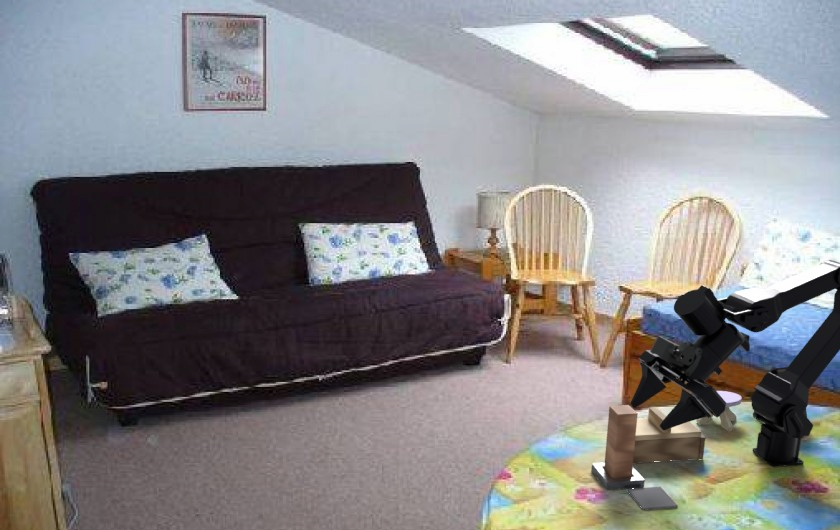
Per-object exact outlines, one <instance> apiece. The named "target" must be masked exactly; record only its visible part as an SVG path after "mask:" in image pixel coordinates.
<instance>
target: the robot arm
mask: <svg viewBox="0 0 840 530" xmlns="http://www.w3.org/2000/svg"><path fill="white" fill-rule="evenodd" d="M833 290H835V293H834V298H833V306H832V307H833V308H832V311H831V312H830V313H829V314H828V315H827V317H826V318H825V319H824V321H823V322H822V323H821V324H820V326H819V327H818V329H816V331H815V332H814V334H812V336H811V337H810V338H809V340H808V341H807V342H806V343H805V345H804V346H803V347H802V348H801V350H800V351H799V352H798V353H797V355H796V356H795V357H794V359H792V361H791V363H789V365H788V366H786V367H787V369H786V370H785V371H784V372H782V373H779V374H777V375H774V374H772V373H770V371H769V372H767V373H766V374H764V375H763V378H762V379H761V381H759V382H758V384H757V385H755V386H754V387H753V389H754V392H753V393H752V395H751V398H750V400H751V407H752V410H753V412H754V411H755V416H756V418H755V419H756V420H758V421H760V422H762V423H761V427H760V432H758V434H757V435H758V436H757V441H756V447H753V448H752V452H753V453H754V454H756V455H757V456H758V457H759V458H760V459H762V460H763V461H764V462H765V463H767V464H768V465H769V466H770V467H774V468H775V467H789V466H790V467H791V466H802V465H804V462H805V461H804V460H802V459H801V458H799V455H800V451H801V450H800V449H801V442H802V439H803V438H804V437H808V436H810V434H811V431H812V429H813V428H814V424H813V423H812V422H811V421H810V419H809V418H808V416H807V417H806V416H805V415H804V414H803V412H804V411H805V409H806V410H807V407H808V405H809V395H810V388H811V387H812V386H813V384H815V382H816V380H818V378H819V377H820V375H821V374H822V373H823V372H824V371H825V370H826V368H827V367H828V366H829V365H830V363H831V362H832V360H833V359H834V358H835V357H836V355H837V354H838V353H839V351H840V262H839V261H836V260H831V259H829V260H823V261H821V262H820V264H819V265H817V266H814V267H812V268H810V269H807V270H805V271H803V272H800V273H798V274H796V275H794V276H791V277H790V278H786V279H784V280H782V281H780V282H777V283H774V284H772V285H771V286H766V287H751V288H745V289H742V290H738V291H734V292H733V293H730V294H729V295H728V296H726V297H722V298H717V297H716V296H715V294H714V292H713V290H712V289H711V288H710V287H708V286H706V285H704V284H703V285H702V284H701V285H700V286H699V287H698V288H697V289H692V290H689V291H687V292H685V293H684V294H680V295H679V296H678V297H677V299H676V300H675V302H674V304H673V311H674V312H675V314H676V315H677V316H678V318H680V319H681V321H682V322H683V323H684V325H685V326H686V327H687V328H688V329H689V330H690V332H692V334H693V335H695V336H698V338H697V339H695V341H694V342H693V343H692V342H690V341H689V340H687V341H685V342H681V343H680V344H677V343H676V342H674V341H671V340H669V339H666V338H665V337H663V336H660V335H657V338H656V340H655V342H654V343H653V345H652V347H651V349H645V350H644V351H643V352H642V353H641V354H640V355H639V357H637V358H638V360H639V361H640V362H639V367H641V378H640V381H639V383H638V385H637V388H636V390H635V393H634V394H633V396H632V398H631V401H630V405H629V406H630V407H631V408H632V409H636V408H637V407H640V406H641V405H643V404H644V403H646V402H647V401H648V400H650V399H651V398H653V397H655V396H657V394H659V393H660V392H662V391H663V390H665V389H666V388H667V386H666V384H668V383H671V382H672V383H674V384H676V385H677V386H679V387H680V388H681V391H680V392H681V393H680V399H679V400H678V402H677V403H676V405H675V406H674V407H673V408H672V409H671V411H670V412H669V413H668V414H667V415H666V417H665V419H664V420H663V421H662V423H661V424H660V428H661V429H662V430H667V429H669V428H672V427H675V426H678V425H681V424H683V423H686V422H689V421H690V422H692V421H697V419H700V418H704V417H708V418H710V417H711V415H710V414H709V413H711V414H712V415H713V417H716V418H717V419H718V418H720V417H719V416H720V415H721V414H722V413H723V412H724V411H725V407H726V402H725V401H724V400H723V398H722V397H721V396H720V395H719V394H718V393H717V391H718V390H716V389H715V388H714V387H713V385H711V384H709V383H707V380H708V379H709V378H710V377H711V376H712V375H713V374H715V375H717V376H720V375H721V374H722V372H723V370H722V369H721V368H720V366H721V365H722V364H723V363H724V362H725V361H726V360H727V359H728V358H729V357H730V356H731V355H732V354H733V353H734V351H736V350H737V349H741V350H743V351H745V352H747V353H748V352H750V349H751V345H750V335H749V334H746V333H744V332H742V331H739V328H737V326H738V327H741V328H743V329H745V330H747V331H749V332H752V333H760V332H763V331H765V330H766V329H768V328H770V327H771V326H773V325H774V324H775V323H777V322H778V321H779V320H780V318H781V316H782V314H783V313H785V312H787V311H789V310H791V309H792V308H794V307H797V306H799V305H802V304H804V303H806V302H808V301H811V300H813V299H815V298H817V297H820V296H822V295H825V294H827V293H829V292H831V291H833ZM727 321H729V322H727ZM734 324H735V325H736V326H735V325H734Z"/></svg>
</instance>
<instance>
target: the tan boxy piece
mask: <svg viewBox="0 0 840 530" xmlns="http://www.w3.org/2000/svg"><path fill="white" fill-rule="evenodd" d="M705 444H706V436H704V435H703V434H702V433H701V437H688V438H672V439H655V440H639V441H635V447H634V457H633V465H634V463H636V464H646V463H645V462H651V463H655V462H654V461H666V462H674V461H673V460H681V461H689V460H688V459H696V460H698V459H703V460H704V454H705V453H704V452H705V446H706V445H705ZM670 460H672V461H670Z"/></svg>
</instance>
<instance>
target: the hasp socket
mask: <svg viewBox="0 0 840 530" xmlns="http://www.w3.org/2000/svg"><path fill="white" fill-rule="evenodd" d="M604 464H605V462H593V463H591V473H592V474H593V475H594V477H596V479H597V480H598V481H599V483H600V484H601V486H602V487H604V489H605V490H606V491H618V490H619V489H621V490H627V489H632V488H645V482H646V481H645V480H646V479H645V478H644V477H643V476H642V475H641V474H640V473H639V472H638V470H636V468H635V467H634V466H633V468H632V477H624V478H610V476H609V475H608V474H607V473H606V471H605V470H604Z"/></svg>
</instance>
